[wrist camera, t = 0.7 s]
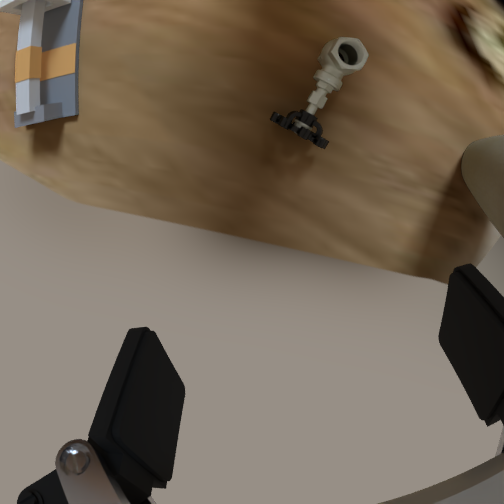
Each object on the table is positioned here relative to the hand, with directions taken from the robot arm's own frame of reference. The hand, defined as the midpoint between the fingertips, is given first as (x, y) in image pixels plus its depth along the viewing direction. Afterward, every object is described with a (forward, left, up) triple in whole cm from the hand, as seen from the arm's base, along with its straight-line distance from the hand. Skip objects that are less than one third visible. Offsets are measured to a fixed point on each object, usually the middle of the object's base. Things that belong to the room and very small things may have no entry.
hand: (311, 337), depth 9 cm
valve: (-8, +5, -30) cm, 31 cm away
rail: (-17, -28, -29) cm, 44 cm away
